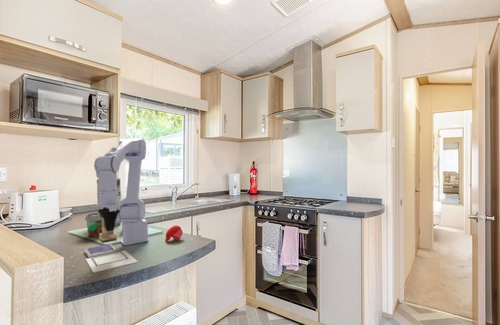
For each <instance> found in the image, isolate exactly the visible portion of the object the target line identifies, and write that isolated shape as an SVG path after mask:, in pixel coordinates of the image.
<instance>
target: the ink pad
mask: <svg viewBox="0 0 500 325" xmlns="http://www.w3.org/2000/svg"><path fill="white" fill-rule="evenodd" d="M116 252H117V248H115V246H114V245H113V244H112V243H111V244H110V243H109V244H105V245H99V246H94V247H87V248H85V249H84V253H85V255H86V256H87V258H91V257H96V256H101V255H106V254H111V253H116Z"/></svg>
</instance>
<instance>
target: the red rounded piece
mask: <svg viewBox="0 0 500 325" xmlns="http://www.w3.org/2000/svg"><path fill="white" fill-rule="evenodd" d="M182 236H183V230H182V228H181V226H179V225H173V226H171V227H170V228H169V229H167V231H166V233H165V239H164V242H165V243H168V242H169V241H170V240H171V238H173V240H176V241H177V242H179V241H181V238H182Z"/></svg>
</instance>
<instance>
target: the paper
mask: <svg viewBox="0 0 500 325" xmlns="http://www.w3.org/2000/svg"><path fill="white" fill-rule="evenodd" d="M85 261H86V262H87V264H88V266H89V268H90V270H91V271H92V273H99V272H102V271H107V270H111V269H114V268H116V269H117V268H120V267H124V266H127V265H132V264H137V263H138V260H137V259H136V258H135V257H133V256H132V255H131V254H130V253H129V252H128V251H127V250H121V251H118V252H117V251H116V253H111V254H106V255H101V256H96V257H91V258H88V257H87V258H85Z"/></svg>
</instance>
